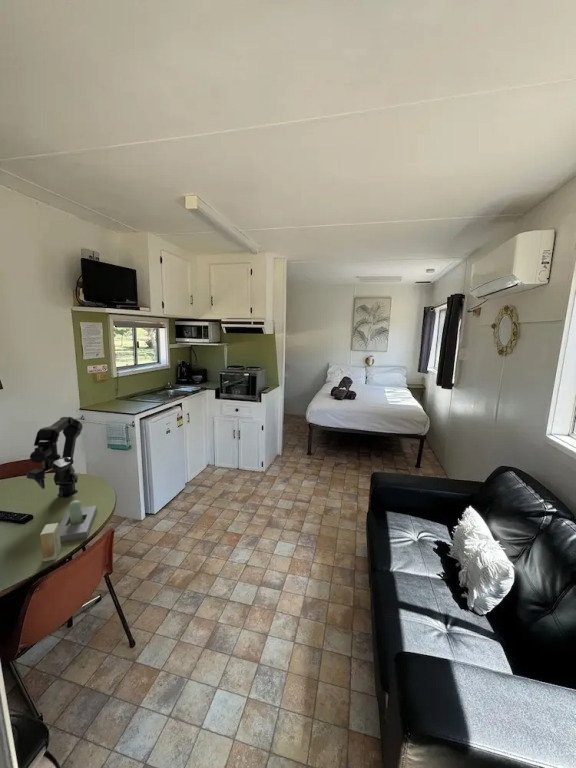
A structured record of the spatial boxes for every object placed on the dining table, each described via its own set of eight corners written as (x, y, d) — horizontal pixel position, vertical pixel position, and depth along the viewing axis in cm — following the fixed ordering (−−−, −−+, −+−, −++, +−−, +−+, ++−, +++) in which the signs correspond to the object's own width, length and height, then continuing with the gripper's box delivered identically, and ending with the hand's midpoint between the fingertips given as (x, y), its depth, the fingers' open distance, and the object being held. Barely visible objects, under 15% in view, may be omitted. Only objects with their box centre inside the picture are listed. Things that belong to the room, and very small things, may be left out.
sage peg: (73, 522, 139) (71, 498, 137) (84, 521, 140) (82, 497, 138) (68, 528, 135) (66, 504, 133) (80, 527, 136) (78, 503, 134)
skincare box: (48, 550, 122) (45, 523, 120) (61, 548, 124) (59, 521, 122) (42, 562, 116) (39, 534, 114) (56, 560, 118) (53, 532, 116)
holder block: (67, 515, 145) (67, 509, 144) (97, 511, 149) (96, 505, 148) (53, 543, 126) (52, 537, 126) (87, 537, 131) (86, 531, 130)
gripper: (43, 464, 133) (46, 497, 136) (81, 449, 151) (83, 477, 154) (24, 460, 136) (27, 492, 139) (63, 445, 154) (65, 474, 157)
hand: (52, 484), depth 147 cm, fingers open, 9 cm apart
